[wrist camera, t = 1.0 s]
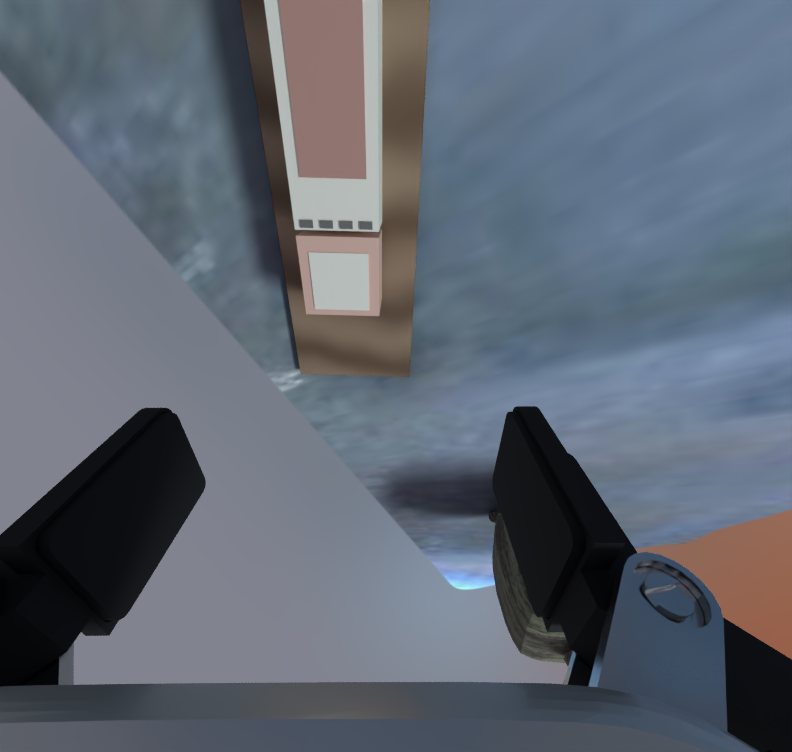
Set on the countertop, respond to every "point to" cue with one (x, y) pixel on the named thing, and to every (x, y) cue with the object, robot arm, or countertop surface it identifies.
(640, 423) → the countertop surface
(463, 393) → the countertop surface
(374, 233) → the stub
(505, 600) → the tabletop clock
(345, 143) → the white box with vents
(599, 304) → the countertop surface
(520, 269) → the countertop surface
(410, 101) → the board
